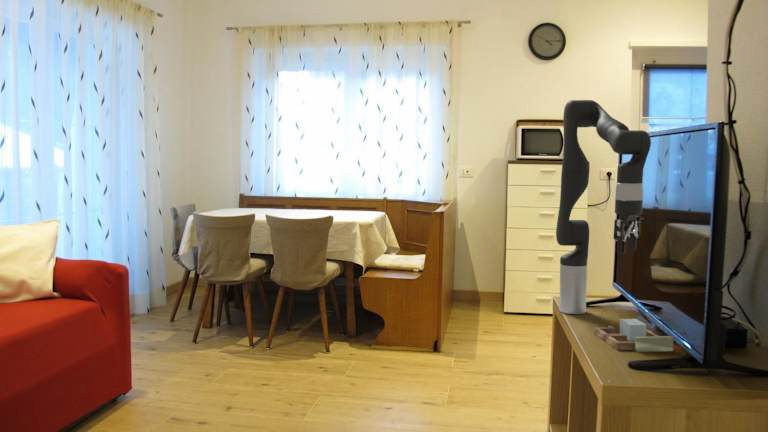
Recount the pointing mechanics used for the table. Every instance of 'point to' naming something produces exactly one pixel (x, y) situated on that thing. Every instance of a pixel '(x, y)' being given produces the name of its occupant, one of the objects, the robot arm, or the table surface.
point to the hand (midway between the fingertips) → (626, 252)
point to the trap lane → (641, 343)
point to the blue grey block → (632, 328)
